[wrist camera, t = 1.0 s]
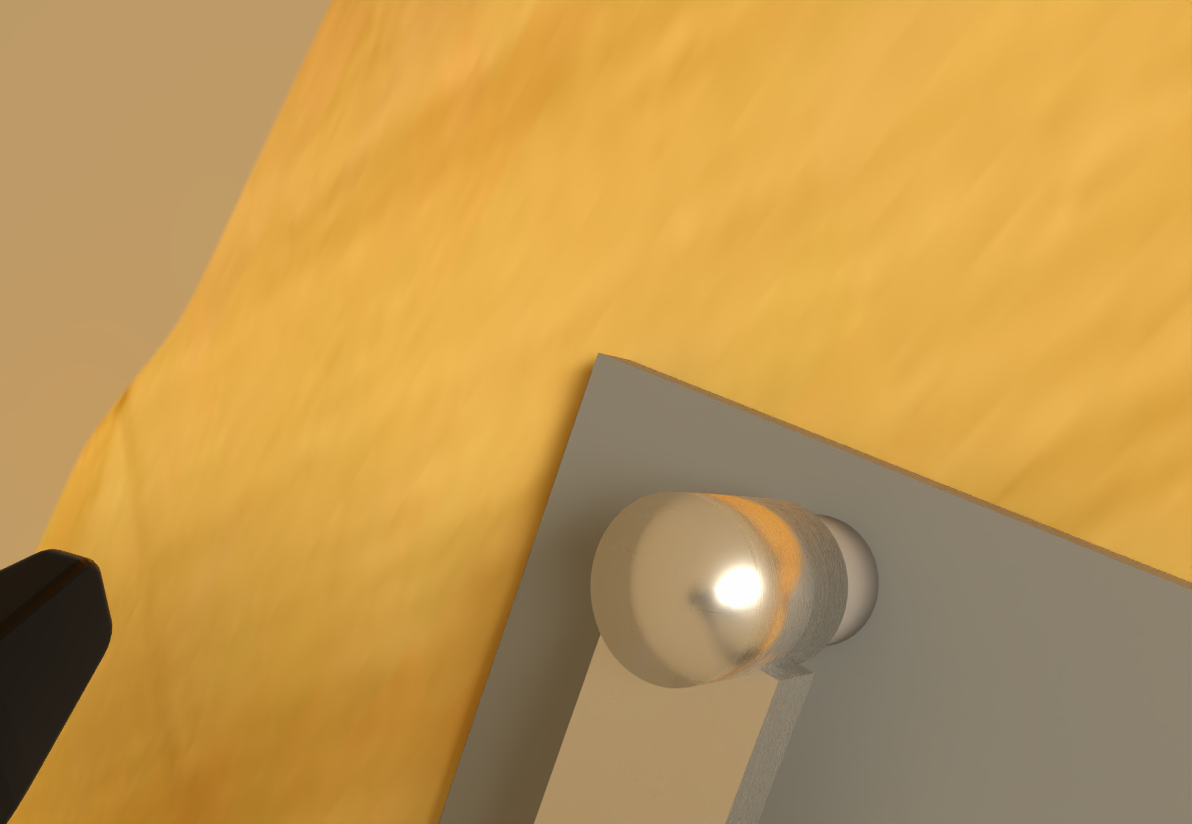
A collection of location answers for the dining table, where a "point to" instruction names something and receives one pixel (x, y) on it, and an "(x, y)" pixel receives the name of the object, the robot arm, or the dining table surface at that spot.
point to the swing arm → (696, 659)
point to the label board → (865, 635)
